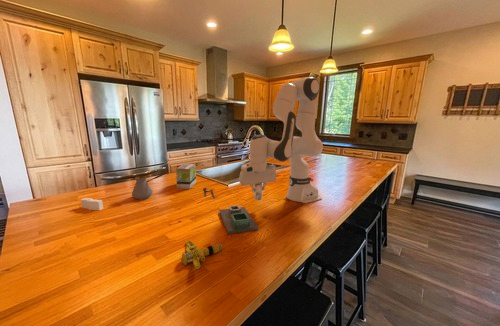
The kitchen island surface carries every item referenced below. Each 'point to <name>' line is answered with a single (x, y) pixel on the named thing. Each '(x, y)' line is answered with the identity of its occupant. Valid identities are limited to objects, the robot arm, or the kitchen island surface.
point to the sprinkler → (198, 253)
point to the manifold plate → (237, 220)
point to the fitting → (258, 191)
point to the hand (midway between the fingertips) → (258, 190)
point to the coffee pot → (143, 187)
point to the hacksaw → (209, 191)
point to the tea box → (186, 176)
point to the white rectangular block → (91, 204)
